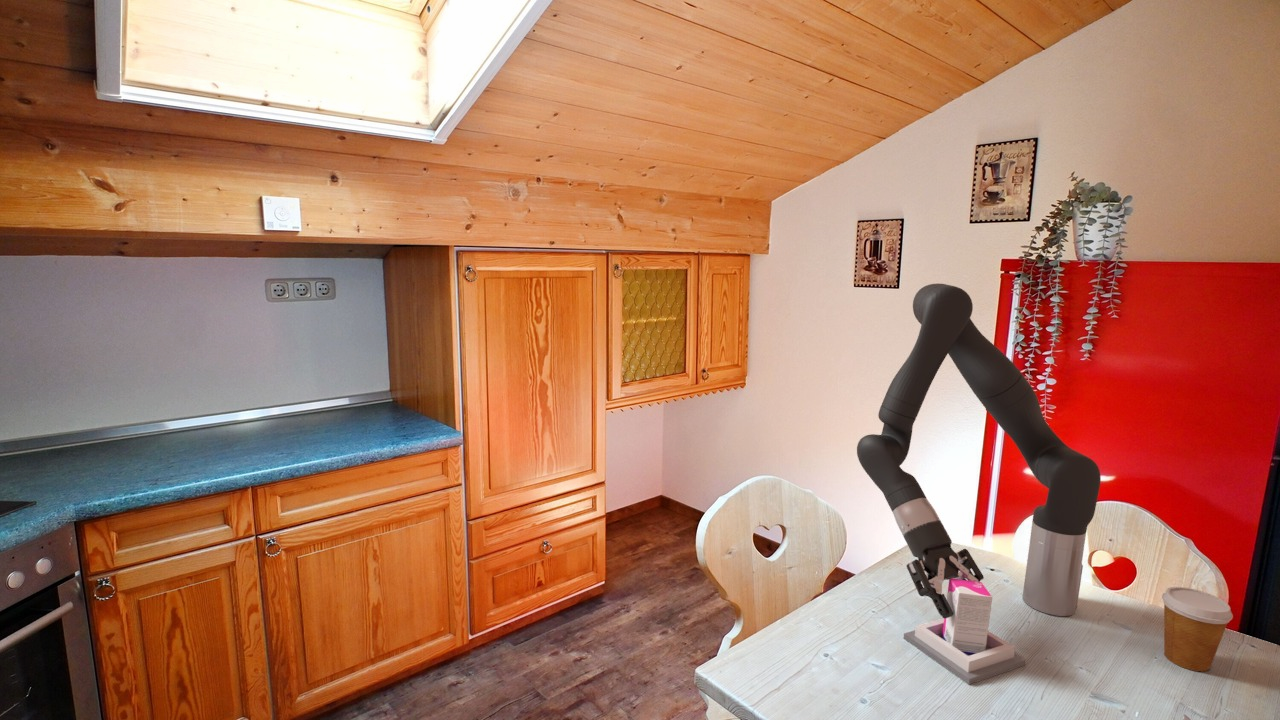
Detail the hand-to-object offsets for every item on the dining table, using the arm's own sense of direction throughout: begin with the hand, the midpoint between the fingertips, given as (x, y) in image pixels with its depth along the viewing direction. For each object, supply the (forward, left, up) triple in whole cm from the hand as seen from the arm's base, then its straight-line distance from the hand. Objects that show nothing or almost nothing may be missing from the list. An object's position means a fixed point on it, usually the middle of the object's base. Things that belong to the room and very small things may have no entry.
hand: (966, 612), depth 114 cm
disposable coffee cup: (-36, +17, -8) cm, 41 cm away
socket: (0, 0, -7) cm, 7 cm away
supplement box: (0, 0, -7) cm, 7 cm away
